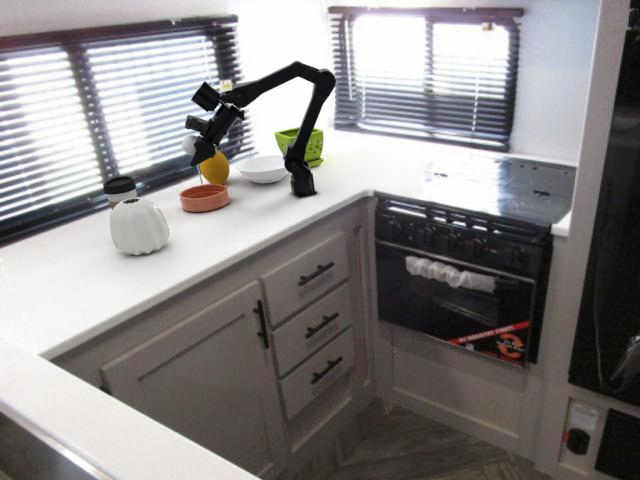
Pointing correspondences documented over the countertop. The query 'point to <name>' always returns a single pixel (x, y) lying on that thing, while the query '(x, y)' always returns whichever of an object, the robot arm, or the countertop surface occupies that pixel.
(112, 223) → the vase
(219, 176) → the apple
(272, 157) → the bowl
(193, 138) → the lollipop
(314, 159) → the flower pot
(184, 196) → the terracotta plant saucer
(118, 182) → the coffee cup
